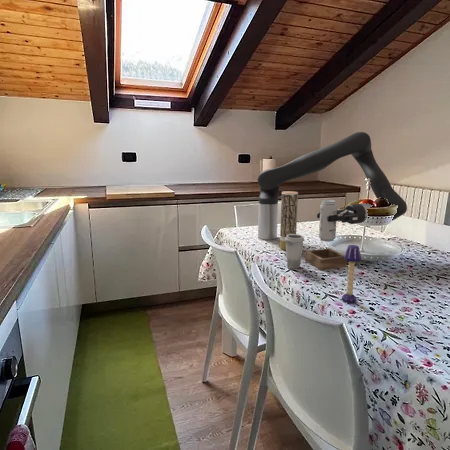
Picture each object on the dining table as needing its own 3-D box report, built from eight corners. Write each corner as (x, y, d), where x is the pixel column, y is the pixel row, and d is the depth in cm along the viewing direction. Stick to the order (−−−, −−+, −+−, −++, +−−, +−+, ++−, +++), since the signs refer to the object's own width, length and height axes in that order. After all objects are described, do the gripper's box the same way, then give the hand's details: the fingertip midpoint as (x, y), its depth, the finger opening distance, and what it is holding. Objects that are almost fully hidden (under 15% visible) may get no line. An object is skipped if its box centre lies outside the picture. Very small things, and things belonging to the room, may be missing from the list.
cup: (304, 264, 131) (305, 234, 128) (302, 270, 125) (303, 239, 122) (285, 262, 134) (286, 233, 131) (282, 268, 127) (283, 237, 125)
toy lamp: (338, 296, 104) (342, 243, 100) (353, 296, 104) (357, 243, 100) (345, 303, 99) (349, 248, 95) (360, 303, 100) (365, 248, 96)
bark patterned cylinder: (295, 251, 147) (297, 193, 142) (279, 250, 149) (281, 193, 143) (295, 247, 154) (298, 191, 148) (280, 246, 155) (282, 191, 150)
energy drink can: (332, 242, 126) (335, 202, 123) (316, 240, 129) (318, 201, 126) (337, 238, 131) (339, 200, 128) (321, 236, 134) (323, 199, 131)
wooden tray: (305, 260, 136) (305, 251, 135) (328, 257, 139) (329, 248, 138) (321, 270, 125) (322, 259, 125) (346, 266, 129) (347, 256, 128)
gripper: (348, 201, 138) (312, 204, 133) (374, 207, 125) (335, 210, 120) (346, 219, 140) (311, 222, 135) (372, 226, 127) (334, 231, 121)
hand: (322, 217), depth 127 cm, fingers closed on energy drink can, 6 cm apart
